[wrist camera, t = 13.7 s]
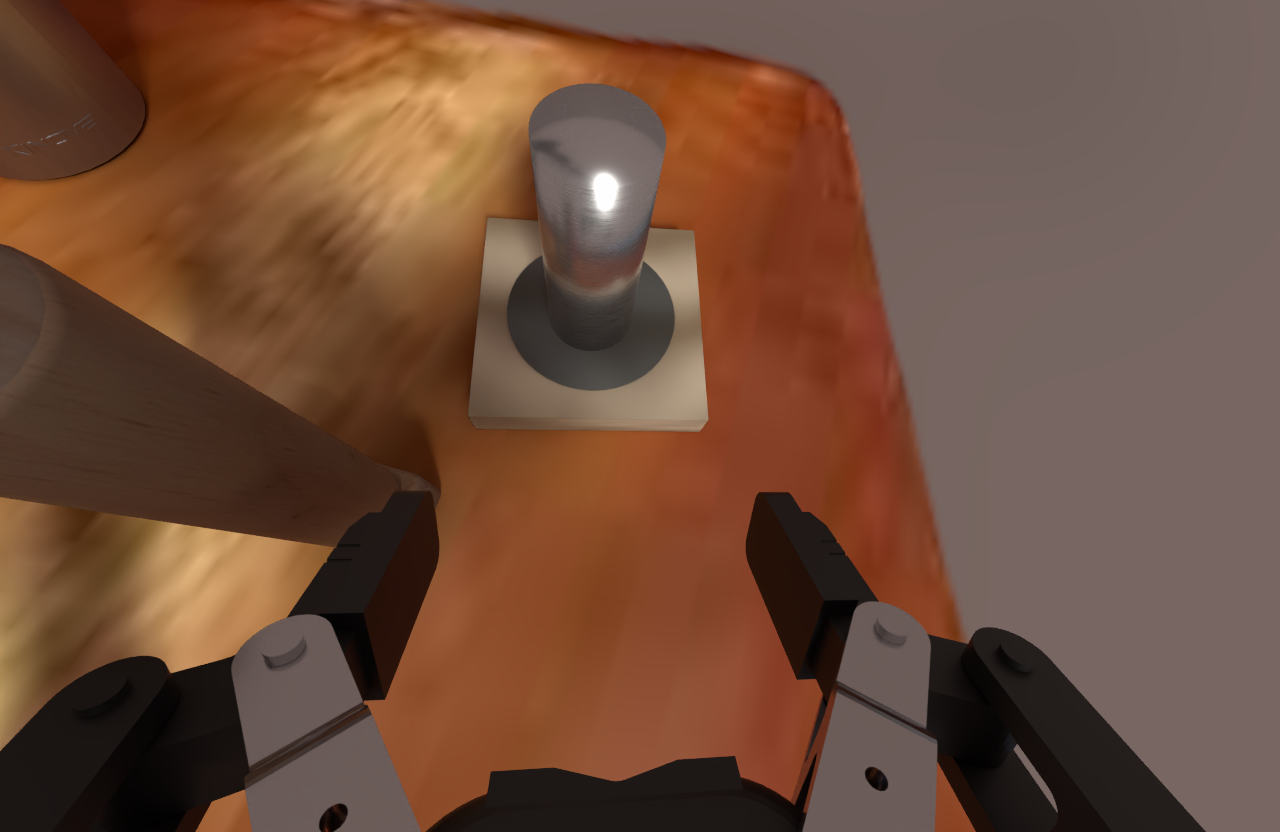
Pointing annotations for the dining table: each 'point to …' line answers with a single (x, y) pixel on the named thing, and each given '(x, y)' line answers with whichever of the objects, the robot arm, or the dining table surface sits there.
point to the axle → (594, 206)
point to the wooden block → (160, 425)
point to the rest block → (587, 380)
